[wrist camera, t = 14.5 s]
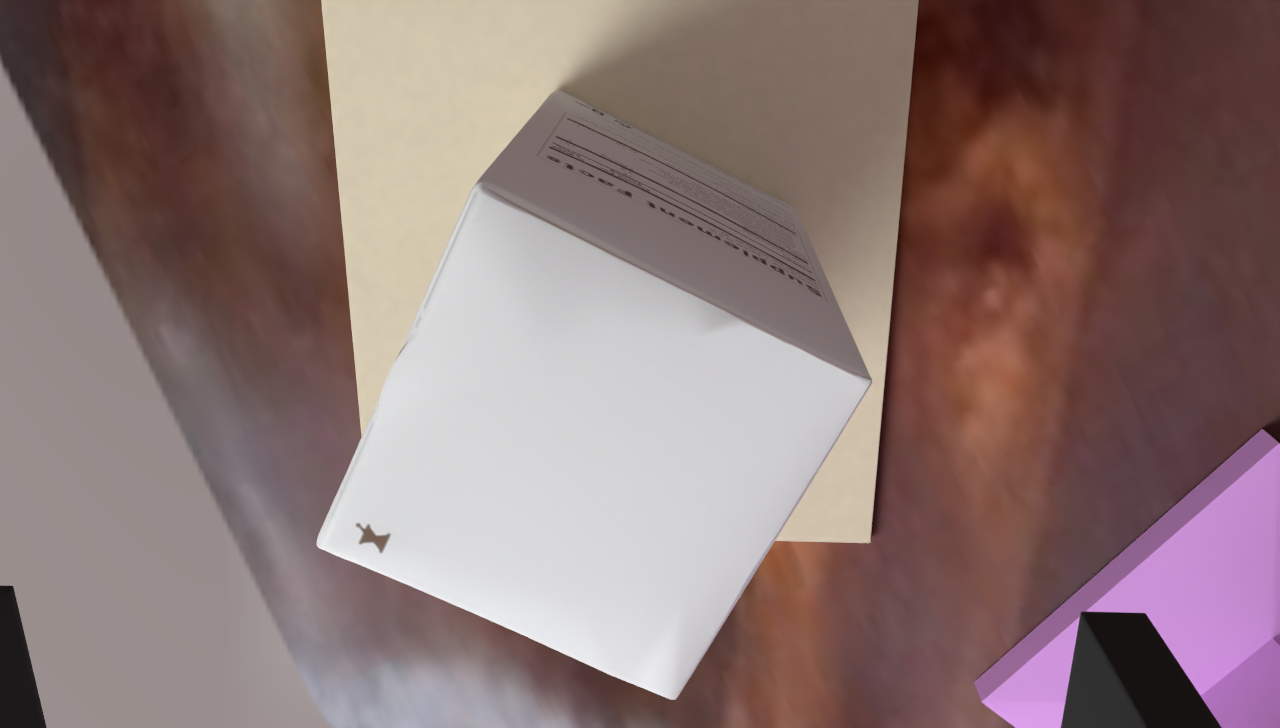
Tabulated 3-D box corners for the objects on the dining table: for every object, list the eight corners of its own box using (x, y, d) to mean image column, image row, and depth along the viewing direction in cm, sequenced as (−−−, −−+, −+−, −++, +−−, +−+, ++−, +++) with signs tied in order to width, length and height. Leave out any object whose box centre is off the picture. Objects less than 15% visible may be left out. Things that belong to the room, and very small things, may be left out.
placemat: (921, -56, 33) (923, -55, 33) (869, 539, 40) (870, 543, 40) (318, -58, 34) (315, -58, 33) (372, 528, 41) (370, 532, 41)
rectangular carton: (678, 438, 39) (675, 722, 25) (440, 325, 38) (297, 557, 24) (808, 208, 36) (890, 384, 22) (555, 78, 35) (468, 175, 21)
